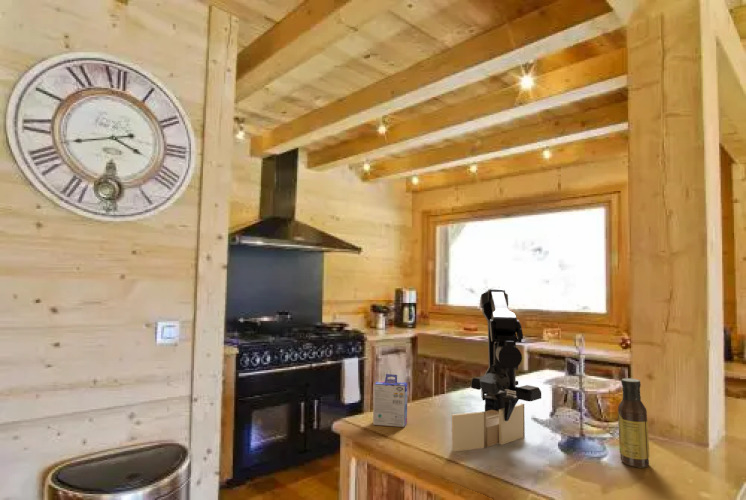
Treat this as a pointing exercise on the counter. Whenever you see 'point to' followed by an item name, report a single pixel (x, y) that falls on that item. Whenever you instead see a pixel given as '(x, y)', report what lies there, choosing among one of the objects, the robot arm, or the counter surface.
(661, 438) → the counter surface
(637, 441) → the sauce bottle
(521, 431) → the side flap
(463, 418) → the front flap
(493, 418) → the carton
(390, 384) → the ink cartridge box
